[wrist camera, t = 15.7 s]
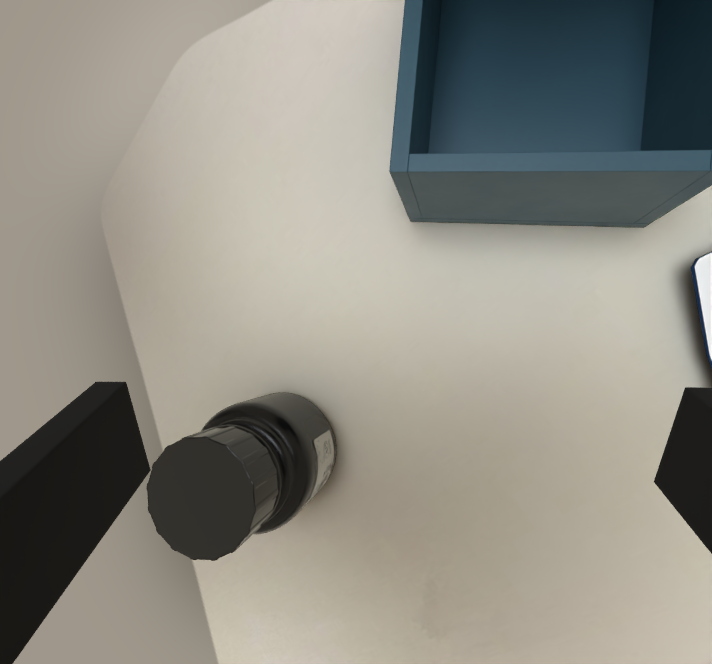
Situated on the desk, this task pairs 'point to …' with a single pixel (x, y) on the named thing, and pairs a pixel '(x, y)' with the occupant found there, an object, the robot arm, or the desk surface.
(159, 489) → the ink bottle
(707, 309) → the plate
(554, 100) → the chest
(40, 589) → the robot arm
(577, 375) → the desk surface
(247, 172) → the desk surface
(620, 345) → the desk surface
